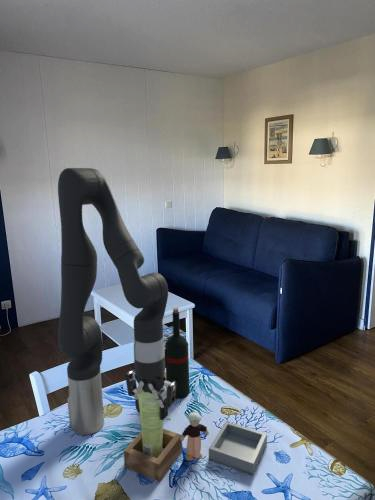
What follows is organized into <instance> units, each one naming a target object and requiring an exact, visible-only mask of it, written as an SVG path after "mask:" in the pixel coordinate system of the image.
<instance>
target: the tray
mask: <svg viewBox="0 0 375 500" xmlns="http://www.w3.org/2000/svg"><path fill="white" fill-rule="evenodd" d="M267 445H268V432H267V433H266V432H264V431H260V430H257V429H253V428H250V427H247V426H244V425H240V424H237V423H233V422H230V421H224V422H223V425H222V427H221V428H220V429H219V431H218V433H217V434H216V436H215V438H214V440H213V441H212V443H210V446H209V447H208V461H210V462H214V463H215V464H219V465H222V466H225V467H228V468H231V469H233V470H236V471H238V472H241V473H244V474H247V475H249V476H252V477H253V476H254V475H255V473H256V471H257V468H258V466H259V464H260V461H261V459H262V456H263V455H264V452H265V450H266V447H267Z"/></svg>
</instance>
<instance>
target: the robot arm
mask: <svg viewBox="0 0 375 500" xmlns="http://www.w3.org/2000/svg"><path fill="white" fill-rule="evenodd" d="M112 193H113V192H112V191H111V188H110V185H109V183H108V181H107V180H106V178H105V175H104V174H103V173H102V172H101V171H100V170H98V169H96V168H92V167H91V168H90V167H66V168H64V169H62V171H61V172H60V174H59V177H58V181H57V197H58V198H57V199H58V208H59V218H60V231H61V232H60V233H61V234H60V235H61V236H60V237H61V254H60V255H61V256H60V273H61V275H60V277H61V280H60V281H61V284H60V285H61V290H60V292H61V293H60V309H59V310H60V311H59V319H58V328H57V344H58V347H59V349H60V351H61V353H62V354H63V355H64V356H65V357H66V358H69V359H71V360H70V361H69V362H68V364H67V368H66V373H67V375H66V376H67V382H68V393H69V394H68V397H67V399H66V400H67V410H68V420H69V427H71V428H72V431H73V432H74V433H75V434H77V435H80V436H88V435H92V434H95V433H97V432H98V431H100V430H101V429H102V428H103V426H104V425H105V415H104V402H103V401H104V400H103V399H104V398H103V387H102V385H103V384H102V376H101V375H102V374H101V366H102V365H101V364H102V362H103V335H102V334H103V333H102V330H101V327H100V326H101V325H100V324H99V323H98V322H97V320H96V319H94V317H92V316H89V315H88V316H87V315H86V316H84V315H85V309H86V306H87V304H88V301H89V299H90V296H91V294H92V292H93V289H94V288H95V284H96V282H97V281H96V280H97V277H98V276H97V275H98V274H97V273H98V253H97V250H96V248H95V246H94V244H93V242H92V240H91V239H90V237H89V236H88V233H87V232H86V230H85V226H84V223H83V206H85V205H88V206H89V205H92V206H93V207H94V208H95V209H96V211H97V212H98V214H99V216H100V219H101V224H102V226H101V227H102V242H103V246H104V249H105V251H106V253H107V254H108V257H109V258H110V260H111V261H112V263H113V266H115V268H116V270H117V274H118V278H119V282H120V284H121V288H122V292H123V295H124V297H125V299H126V301H127V302H128V303H129V305H130V306H131V307H133V308H136V309H140V311H139V312H138V313H137V314H136V315H135V316H134V319H133V340H134V341H133V359H134V361H133V362H134V369H131V370H130V371H128V372H127V373H126V374H125V382H126V383H125V384H126V389H127V394H128V396H130V397H131V396H132V397H133V399H134V401H135V403H134V404H135V410H136V412H137V413H138V414H140V409H139V402H138V396H137V393H138V394H140V393H141V392H142V390H143V392H149V393H151V394H153V395H154V397H155V399H156V400H157V401H158V403H159V405H160V407H159V409H160V420H163V421H164V420H165V419H166V418H167V417H168V415H169V409H170V407H172V406H173V404H174V403H175V402H176V399H175V396H176V385H177V383H176V382H175V381H173V382H172V383H171V382H169V381H166V375H165V374H166V361H165V339H164V325H163V324H164V323H163V320H164V317H165V312H166V308H167V303H168V298H169V286H168V283H167V281H166V279H165V277H164V276H163V275H161V273H158V272H150V273H147V274H145V275H142V276H141V275H140V273H139V269H140V268H141V267H143V265H144V263H145V257H144V255H143V253H142V252H141V250H140V248H139V246H138V245H137V244H136V241H135V240H134V238H133V237H132V236H131V234H130V232H129V230H128V229H127V226H126V225H125V222H124V219H123V218H122V215H121V213H120V210H119V208H118V205H117V203H116V200H115V198H114V196H113V194H112ZM137 384H138V386H137ZM160 390H161V391H160ZM159 391H160V393H159V394H158V392H159ZM162 398H163V400H162Z"/></svg>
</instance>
